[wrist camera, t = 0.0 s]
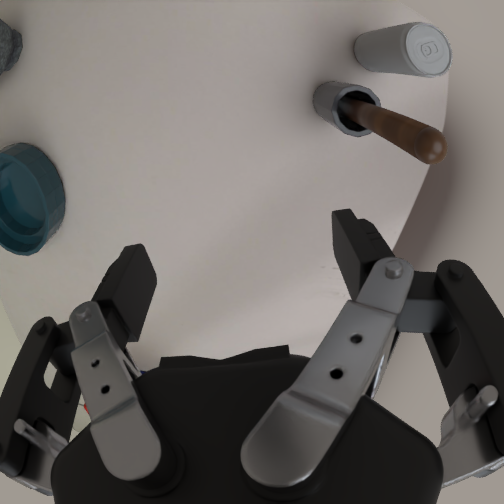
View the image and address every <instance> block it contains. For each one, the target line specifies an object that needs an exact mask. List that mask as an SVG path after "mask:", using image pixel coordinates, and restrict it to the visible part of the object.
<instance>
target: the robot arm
mask: <svg viewBox="0 0 504 504" xmlns="http://www.w3.org/2000/svg"><path fill="white" fill-rule="evenodd" d="M332 234H333V249H334V255H335V258H336V261H337V263H338V266H339V268H340V271H341V273H342V276H343V278H344V281H345V283H346V286H347V289H348V291H349V294H350V296H351V299H352V300H348V301H347V302H346V304H345V305H344V307H343V308H342V310H341V312H340V313H339V315H338V317H337V318H336V320H335V322H334V323H333V325H332V326H331V328H330V330H329V331H328V333H327V334H326V336H325V338H324V339H323V341H322V342H321V344H320V345H319V347H318V348H317V350H316V351H315V353H314V354H313V356H312V357H311V358H309V357H305V356H301V355H293V354H290V353H289V346H288V345H283V346H276V347H268V348H261V349H254V350H251V351H248V352H245V353H242V354H239V355H236V356H233V357H229V358H226V359H222V360H217V359H210V358H203V357H196V356H175V357H161V360H160V365H159V367H157V368H154V369H152V370H149V371H147V372H145V373H143V374H141V372H140V370H139V369H138V367H137V365H136V363H135V361H134V359H133V358H132V356H131V354H130V352H129V350H128V349H127V347H126V344H127V342H138V341H139V338H140V334H141V331H142V328H143V325H144V322H145V318H146V315H147V312H148V309H149V306H150V303H151V300H152V297H153V294H154V291H155V288H156V285H157V277H156V273H155V270H154V268H153V266H152V263H151V261H150V259H149V256H148V254H147V252H146V249H145V247H144V246H143V245H142V244H135V245H130V246H126V247H124V249H123V251H122V252H121V254H120V256H119V258H118V259H117V260H116V261H115V262H114V263H113V264H112V265H111V266H110V267H109V268H108V270H107V272H106V274H105V276H104V277H103V279H102V282H101V283H100V285H99V286H98V288H97V290H96V292H95V294H94V296H93V298H92V300H91V301H88V302H85V303H82V304H81V305H79V306H78V307H76V308H75V309H74V310H73V312H72V313H71V315H70V317H69V321H67V322H65V323H62V324H59V325H57V323H56V322H55V321H54V319H53V318H52V317H44V318H42V319H40V320H39V321H37V322H36V323H35V324H34V325H33V327H32V328H31V330H30V332H29V334H28V336H27V338H26V340H25V342H24V344H23V346H22V348H21V350H20V352H19V354H18V357H17V359H16V361H15V363H14V365H13V368H12V370H11V372H10V375H9V377H8V379H7V382H6V384H5V387H4V389H3V392H2V395H1V397H0V471H1V472H2V473H4V474H5V475H6V476H7V477H9V478H11V479H13V480H15V481H17V482H18V483H20V484H22V485H24V486H26V487H28V488H30V489H34V490H36V491H38V492H40V493H43V494H45V495H47V496H52V495H53V496H54V501H55V504H436V502H437V499H438V496H439V493H440V490H441V489H442V488H444V487H447V486H450V485H452V484H455V483H457V482H460V481H462V480H465V479H467V478H469V477H471V476H474V477H479V478H480V477H485V476H487V475H489V474H491V473H493V472H495V471H496V470H498V469H499V468H501V467H503V466H504V318H503V316H502V314H501V313H500V311H499V310H498V308H497V307H496V305H495V303H494V302H493V300H492V298H491V297H490V295H489V294H488V292H487V291H486V290H485V288H484V286H483V285H482V283H481V282H480V280H479V279H478V278H477V276H476V275H475V273H474V272H473V271H472V269H471V268H470V267H469V266H468V265H466V264H465V263H463V262H461V261H457V260H445V261H442V262H441V263H440V264H439V265H438V267H437V271H436V272H419V271H414V269H413V266H412V265H411V264H410V263H409V262H408V261H406V260H404V259H401V258H397V257H395V255H394V254H393V252H392V251H391V249H390V248H389V246H388V245H387V243H386V242H385V240H384V239H383V238H382V236H381V234H380V233H379V232H378V230H377V229H376V227H375V226H374V224H372V223H371V222H369V221H368V220H366V219H357V218H356V216H355V215H354V213H353V212H352V210H351V209H343V210H336V211H332ZM401 332H414V333H423V335H424V338H425V340H426V342H427V345H428V348H429V350H430V353H431V355H432V358H433V360H434V363H435V366H436V369H437V371H438V374H439V377H440V380H441V383H442V386H443V388H444V391H445V394H446V398H447V401H448V404H449V406H450V409H449V410H448V411H447V413H446V414H445V415H444V417H443V419H442V422H441V442H440V445H439V447H437V448H436V447H435V445H434V444H433V443H432V442H431V441H430V440H429V439H428V438H427V437H425V436H424V435H422V434H421V433H420V432H418V431H417V430H415V429H414V428H412V427H411V426H409V425H408V424H407V423H405V422H404V421H402V420H401V419H399V418H398V417H397V416H395V415H394V414H392V413H391V412H389V411H388V410H386V409H385V408H384V407H382V406H381V405H379V404H378V403H377V402H375V401H374V400H373V399H374V396H375V394H376V392H377V390H378V388H379V385H380V383H381V380H382V378H383V375H384V373H385V370H386V368H387V365H388V363H389V361H390V358H391V356H392V354H393V351H394V349H395V346H396V344H397V341H398V339H399V336H400V334H401ZM49 361H50V362H51V364H52V365H53V366H54V367H55V368H56V369H57V372H56V374H55V377H54V380H53V383H52V386H51V389H49V388H48V387H47V386H46V384H45V382H44V373H45V370H46V368H47V365H48V363H49ZM81 392H82V395H83V398H84V401H85V404H86V407H87V410H88V413H89V415H90V418H91V422H90V423H89V424H88V425H87V426H86V427H85V428H84V429H83V430H82V431H81V432H80V433H79V434H78V435H77V436H76V437H75V438H74V439H73V440H72V441H71V442H70V443H69V440H70V435H71V430H72V427H73V422H74V418H75V414H76V410H77V407H78V403H79V399H80V395H81Z"/></svg>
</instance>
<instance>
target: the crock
mask: <svg viewBox="0 0 504 504" xmlns="http://www.w3.org/2000/svg"><path fill="white" fill-rule="evenodd" d="M343 96H347V97H350V98H354V99H357V100H360V101H363V102H367V103H370V104H373V105H376V106H379V107H381V104H380V100H379V98H378V97H377V96H376V95H375V94H374V93H373V92H372V91H371V89H369V88H366V87H363V86H360V85H356V84H349V83H343V82H335V81H332V82H326V83H324V84H322V85H320V86H319V87H318V88H317V89H316V91H315V93H314V95H313V106H314V109H315V111H316V112H317V114H318V115H319V116H320V117H322V118H323V119H324V120H325V121H327V122H328V123H330V124H331V125H333V126H334V127H336V128H337V129H339V130H340V131H342V132H343V133H345V134H347V135H351V136H355V137H361V136H364V135H368V134H371V133H372V131H371V130H369V129H367V128H365V127H363V126H361V125H360V124H358V123H356V122H354V121H352V120H350V119H348V118H346V117H344V116H342V115H340V114H338V113H337V109H338V104H339V100H340V99H341V98H342V97H343Z"/></svg>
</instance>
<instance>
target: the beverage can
mask: <svg viewBox="0 0 504 504" xmlns="http://www.w3.org/2000/svg"><path fill="white" fill-rule="evenodd" d="M354 51H355V55H356V58H357V60H358V61H359V63H360V64H361V65H362V66H363V67H364V68H366V69H368V70H370V71H373V72H384V73H395V74H405V75H413V76H421V77H428V78H431V77H437V76H441V75H443V74H445V73H446V72H447V71H448V70H449V68H450V66H451V63H452V49H451V46H450V43H449V41H448V39H447V37H446V36H445V35H444V33H443V32H442V31H441V30H439V29H438V28H437V27H435V26H433V25H431V24H428V23H422V22H413V23H407V24H402V25H397V26H392V27H388V28H383V29H379V30H375V31H371V32H367V33H364V34H362V35H360V36H359V37H358V38H357V40H356V42H355V46H354Z"/></svg>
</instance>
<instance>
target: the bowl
mask: <svg viewBox="0 0 504 504" xmlns="http://www.w3.org/2000/svg"><path fill="white" fill-rule="evenodd" d="M64 212H65V197H64V192H63V186H62V182H61V180H60V178H59V175H58V173H57V171H56V169H55V167H54V166H53V164H52V163H51V162H50V160H49V159H48V158H47V156H46V155H45V154H44V153H42V152H41V151H40V150H38V149H37V148H35V147H34V146H32V145H28V144H24V143H17V144H12V145H9V146H7V147H5V148H3V149H1V150H0V245H1V246H2V247H3V248H4V249H6V250H7V251H10V252H12V253H14V254H17V255H25V256H29V255H31V254H34V253H37V252H38V251H39V250H40V249H41V248H42V247H43V246H44V245H45V243H46V242H47V241H48V240H49V239H50V238H51V237H52V235H53V234H54V233H55V232H56V231H57V230H58V229H59V227H60V225H61V223H62V220H63V217H64Z"/></svg>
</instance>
